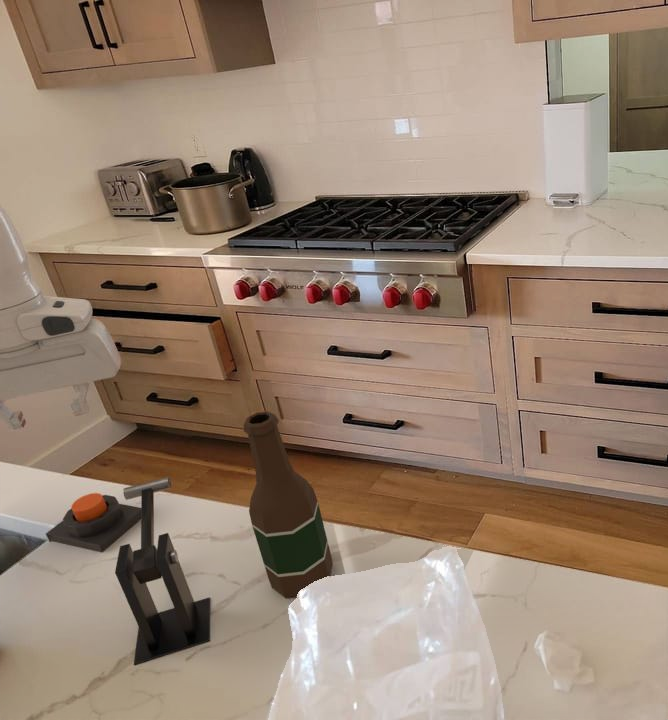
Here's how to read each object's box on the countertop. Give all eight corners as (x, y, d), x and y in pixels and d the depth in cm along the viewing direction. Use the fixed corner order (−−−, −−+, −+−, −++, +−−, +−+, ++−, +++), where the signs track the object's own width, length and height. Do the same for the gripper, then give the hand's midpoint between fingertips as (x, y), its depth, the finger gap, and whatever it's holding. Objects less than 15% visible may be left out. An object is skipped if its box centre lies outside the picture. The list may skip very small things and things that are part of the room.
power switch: (142, 625, 81) (106, 542, 75) (212, 603, 83) (182, 521, 77) (136, 671, 75) (97, 585, 69) (212, 647, 77) (180, 561, 71)
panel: (148, 520, 99) (139, 498, 97) (104, 558, 92) (94, 535, 90) (96, 509, 102) (87, 488, 100) (51, 545, 95) (40, 523, 94)
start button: (113, 506, 96) (109, 495, 96) (90, 524, 93) (86, 513, 92) (92, 502, 98) (87, 491, 97) (69, 519, 94) (64, 508, 94)
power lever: (128, 495, 82) (121, 483, 81) (172, 484, 83) (166, 471, 82) (126, 588, 73) (118, 576, 71) (175, 574, 74) (168, 562, 73)
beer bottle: (314, 611, 80) (268, 441, 70) (259, 598, 83) (206, 433, 72) (346, 564, 87) (308, 403, 76) (294, 554, 89) (251, 397, 79)
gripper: (-101, 351, 77) (-49, 452, 83) (95, 314, 82) (131, 412, 88) (-81, 331, 82) (-33, 428, 89) (102, 298, 88) (136, 391, 94)
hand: (50, 419), depth 89 cm, fingers open, 6 cm apart
